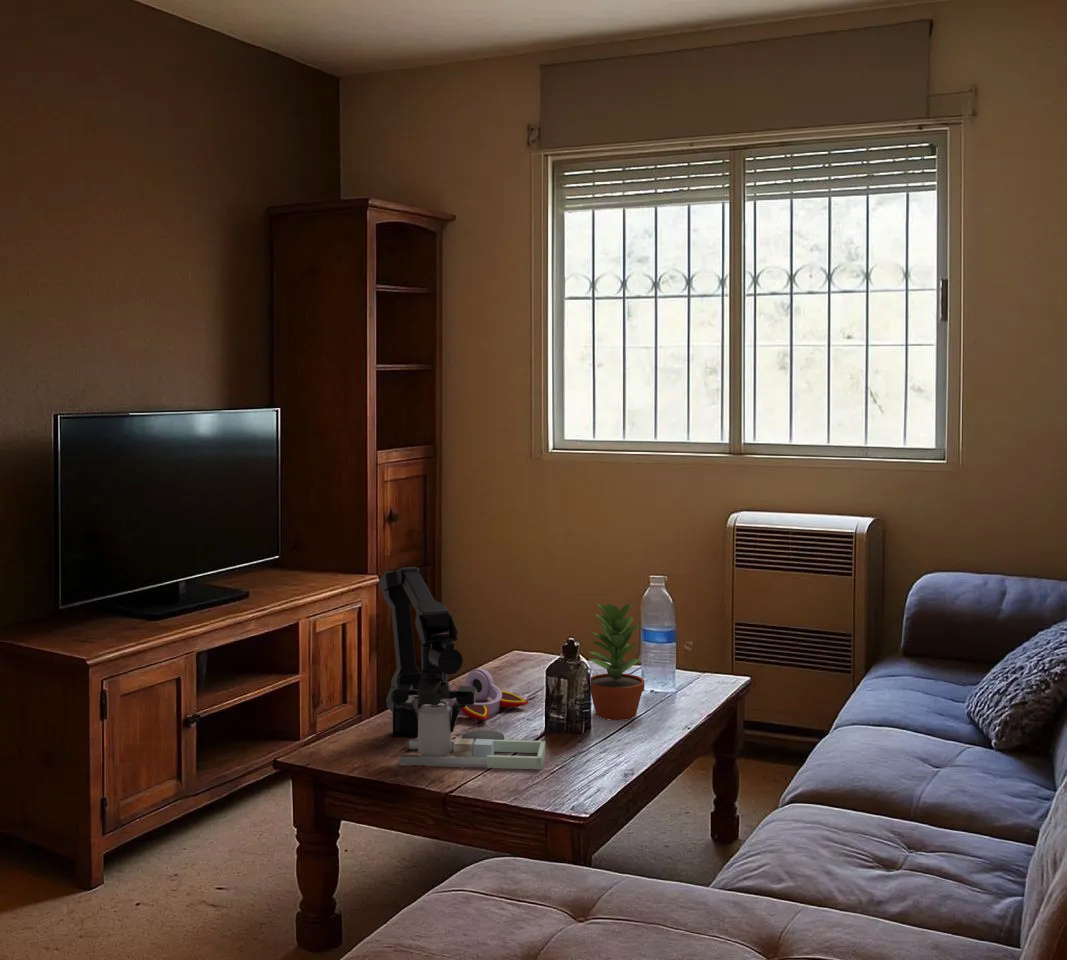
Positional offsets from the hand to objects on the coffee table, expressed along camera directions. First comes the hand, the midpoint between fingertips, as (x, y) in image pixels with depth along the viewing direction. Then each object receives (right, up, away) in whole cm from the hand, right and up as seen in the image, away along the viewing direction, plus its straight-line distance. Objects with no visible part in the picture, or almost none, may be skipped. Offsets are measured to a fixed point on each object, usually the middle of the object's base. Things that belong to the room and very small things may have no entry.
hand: (434, 731), depth 268 cm
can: (0, -5, +1) cm, 6 cm away
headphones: (+8, -3, +37) cm, 38 cm away
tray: (+18, -6, -1) cm, 19 cm away
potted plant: (+43, -3, +34) cm, 55 cm away
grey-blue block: (+11, -6, 0) cm, 13 cm away
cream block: (+7, -6, 0) cm, 9 cm away
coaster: (+10, -5, +14) cm, 18 cm away
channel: (+3, -6, 0) cm, 7 cm away
